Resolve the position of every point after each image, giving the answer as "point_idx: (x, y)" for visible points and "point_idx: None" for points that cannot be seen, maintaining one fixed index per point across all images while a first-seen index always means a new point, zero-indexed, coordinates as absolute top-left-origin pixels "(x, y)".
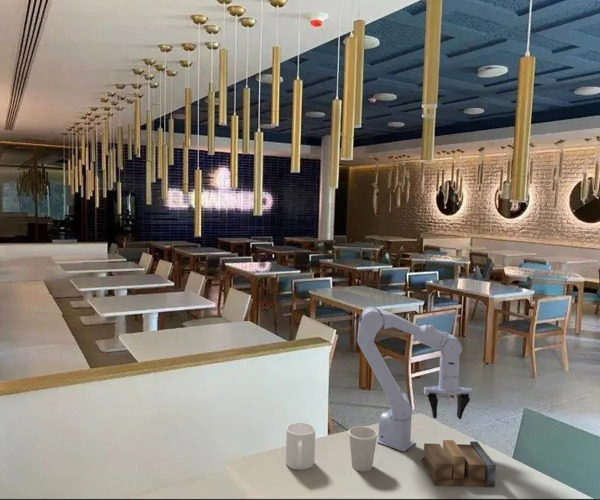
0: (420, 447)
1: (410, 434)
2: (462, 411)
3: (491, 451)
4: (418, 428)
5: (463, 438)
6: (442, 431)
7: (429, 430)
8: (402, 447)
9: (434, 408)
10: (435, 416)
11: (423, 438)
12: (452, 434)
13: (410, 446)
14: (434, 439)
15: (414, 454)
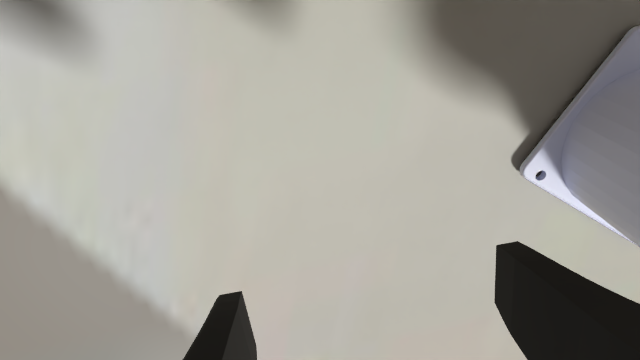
0: (497, 122)
1: (617, 152)
2: (196, 357)
3: (13, 172)
4: (445, 357)
5: (197, 305)
6: (314, 356)
7: (387, 350)
8: (638, 67)
9: (616, 303)
10: (523, 251)
11: (446, 248)
12: (260, 337)
13: (572, 104)
14: (381, 251)
15: (569, 3)
